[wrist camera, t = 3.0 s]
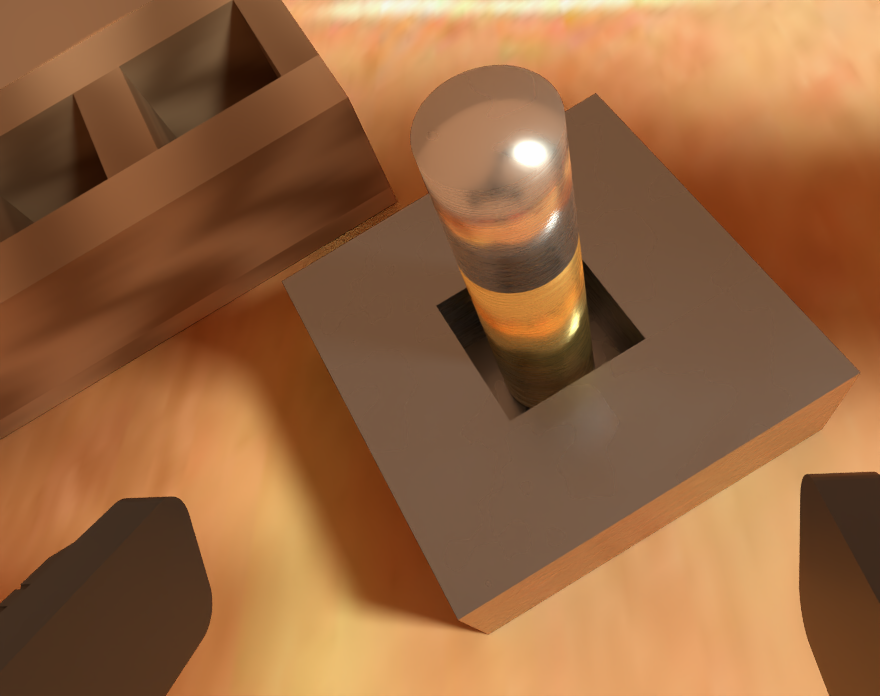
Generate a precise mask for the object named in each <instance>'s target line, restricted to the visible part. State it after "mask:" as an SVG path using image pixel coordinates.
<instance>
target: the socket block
mask: <svg viewBox="0 0 880 696" xmlns="http://www.w3.org/2000/svg"><path fill="white" fill-rule="evenodd" d="M565 119H566V128H567V136H568V145H569V153H570V162H571V170H572V179H573V187H574V196H575V204H576V213H577V221H578V230H579V238H580V247H581V255H582V264H583V272H584V281H585V289H586V298H587V306H588V315H589V323H590V332H591V340H592V349H593V357H594V371H592V372H590V373H589V374H587V375H585V376H584V377H582V378H580V379H579V380H577V381H575V382H574V383H572V384H571V385H569V386H567V387H566V388H564V389H562V390H561V391H559V392H557V393H556V394H554V395H552V396H551V397H549V398H548V399H546V400H544V401H543V402H541V403H539V404H538V405H536V406H534V407H533V408H529V407H526V406H525V405H523V404H521V403H520V402H518V401H517V400H516V399H515V398H514V397H513V396H512V395H511V393H510V392H509V390H508V388H507V386H506V384H505V381H504V379H503V376H502V374H501V371H500V369H499V366H498V364H497V361H496V359H495V356H494V354H493V352H492V349H491V347H490V344H489V342H488V339H487V337H486V334H485V332H484V329H483V327H482V324H481V322H480V319H479V317H478V314H477V312H476V309H475V307H474V304H473V302H472V299H471V297H470V294H469V292H468V289H467V287H466V284H465V282H464V279H463V277H462V274H461V272H460V269H459V267H458V265H457V262H456V260H455V257H454V255H453V252H452V250H451V247H450V245H449V242H448V240H447V237H446V235H445V232H444V230H443V227H442V225H441V222H440V220H439V217H438V215H437V212H436V210H435V207H434V205H433V202H432V200H431V197H430V195H429V193H428V194H427V195H425V196H423V197H422V198H420V199H418V200H417V201H415V202H413V203H412V204H410V205H408V206H407V207H405V208H403V209H402V210H400V211H398V212H397V213H395V214H393V215H392V216H390V217H388V218H387V219H385V220H383V221H382V222H380V223H378V224H377V225H375V226H373V227H372V228H370V229H368V230H367V231H365V232H363V233H362V234H360V235H358V236H357V237H355V238H353V239H352V240H350V241H348V242H347V243H345V244H343V245H342V246H340V247H338V248H337V249H335V250H333V251H332V252H330V253H328V254H327V255H325V256H323V257H322V258H320V259H318V260H317V261H315V262H313V263H312V264H310V265H308V266H307V267H305V268H303V269H302V270H300V271H298V272H297V273H295V274H293V275H292V276H290V277H288V278H287V279H285V280H283V281H282V283H283V285H284V287H285V289H286V290H287V292H288V294H289V296H290V298H291V300H292V302H293V304H294V306H295V308H296V310H297V312H298V313H299V315H300V317H301V319H302V321H303V323H304V325H305V327H306V329H307V331H308V333H309V335H310V337H311V338H312V340H313V342H314V344H315V346H316V348H317V350H318V352H319V354H320V356H321V358H322V360H323V361H324V363H325V365H326V367H327V369H328V371H329V373H330V375H331V377H332V379H333V381H334V383H335V385H336V386H337V388H338V390H339V392H340V394H341V396H342V398H343V400H344V402H345V404H346V406H347V408H348V410H349V411H350V413H351V415H352V417H353V419H354V421H355V423H356V425H357V427H358V429H359V431H360V433H361V434H362V436H363V438H364V440H365V442H366V444H367V446H368V448H369V450H370V452H371V454H372V456H373V458H374V459H375V461H376V463H377V465H378V467H379V469H380V471H381V473H382V475H383V477H384V479H385V481H386V482H387V484H388V486H389V488H390V490H391V492H392V494H393V496H394V498H395V500H396V502H397V504H398V506H399V507H400V509H401V511H402V513H403V515H404V517H405V519H406V521H407V523H408V525H409V527H410V529H411V531H412V532H413V534H414V536H415V538H416V540H417V542H418V544H419V546H420V548H421V550H422V552H423V554H424V555H425V557H426V559H427V561H428V563H429V565H430V567H431V569H432V571H433V573H434V575H435V577H436V579H437V580H438V582H439V584H440V586H441V588H442V590H443V592H444V594H445V596H446V598H447V600H448V602H449V603H450V605H451V607H452V609H453V611H454V613H455V615H456V617H457V619H458V620H459V621H461V622H463V623H465V624H467V625H469V626H472V627H474V628H476V629H478V630H480V631H482V632H484V633H486V634H490V633H492V632H493V631H495V630H496V629H498V628H500V627H501V626H503V625H505V624H506V623H508V622H509V621H511V620H513V619H514V618H516V617H518V616H519V615H521V614H522V613H524V612H526V611H527V610H529V609H531V608H532V607H534V606H535V605H537V604H539V603H540V602H542V601H544V600H545V599H547V598H548V597H550V596H552V595H553V594H555V593H557V592H558V591H560V590H561V589H563V588H565V587H566V586H568V585H570V584H571V583H573V582H574V581H576V580H578V579H579V578H581V577H583V576H584V575H586V574H587V573H589V572H591V571H592V570H594V569H595V568H597V567H599V566H600V565H602V564H604V563H605V562H607V561H608V560H610V559H612V558H613V557H615V556H617V555H618V554H620V553H621V552H623V551H625V550H626V549H628V548H630V547H631V546H633V545H634V544H636V543H638V542H639V541H641V540H643V539H644V538H646V537H647V536H649V535H651V534H652V533H654V532H656V531H657V530H659V529H660V528H662V527H664V526H665V525H667V524H669V523H670V522H672V521H673V520H675V519H677V518H678V517H680V516H682V515H683V514H685V513H686V512H688V511H690V510H691V509H693V508H695V507H696V506H698V505H699V504H701V503H703V502H704V501H706V500H707V499H709V498H711V497H712V496H714V495H716V494H717V493H719V492H720V491H722V490H724V489H725V488H727V487H729V486H730V485H732V484H733V483H735V482H737V481H738V480H740V479H742V478H743V477H745V476H746V475H748V474H750V473H751V472H753V471H755V470H756V469H758V468H759V467H761V466H763V465H764V464H766V463H768V462H769V461H771V460H772V459H774V458H776V457H777V456H779V455H781V454H782V453H784V452H785V451H787V450H789V449H790V448H792V447H794V446H795V445H797V444H798V443H800V442H802V441H803V440H805V439H807V438H808V437H810V436H811V435H813V434H815V433H816V432H818V431H819V430H821V429H822V428H823V427H824V425H825V424H826V423H827V421H828V420H829V418H830V417H831V415H832V414H833V412H834V411H835V409H836V408H837V406H838V405H839V404H840V402H841V401H842V399H843V398H844V396H845V395H846V393H847V392H848V390H849V389H850V387H851V386H852V384H853V383H854V382H855V380H856V379H857V377H858V376H859V374H860V372H859V370H858V369H857V368H856V367H855V366H854V365H853V364H852V363H851V362H850V361H849V360H848V359H847V358H846V357H845V356H844V355H843V354H842V353H841V351H840V350H839V349H838V348H837V347H836V346H835V345H834V344H833V343H832V342H831V341H830V340H829V339H828V338H827V337H826V336H825V335H824V334H823V332H822V331H821V330H820V329H819V328H818V327H817V326H816V325H815V324H814V323H813V322H812V321H811V320H810V319H809V318H808V317H807V316H806V314H805V313H804V312H803V311H802V310H801V309H800V308H799V307H798V306H797V305H796V304H795V303H794V302H793V301H792V300H791V299H790V298H789V297H788V295H787V294H786V293H785V292H784V291H783V290H782V289H781V288H780V287H779V286H778V285H777V284H776V283H775V282H774V281H773V280H772V279H771V278H770V276H769V275H768V274H767V273H766V272H765V271H764V270H763V269H762V268H761V267H760V266H759V265H758V264H757V263H756V262H755V261H754V260H753V259H752V257H751V256H750V255H749V254H748V253H747V252H746V251H745V250H744V249H743V248H742V247H741V246H740V245H739V244H738V243H737V242H736V241H735V240H734V238H733V237H732V236H731V235H730V234H729V233H728V232H727V231H726V230H725V229H724V228H723V227H722V226H721V225H720V224H719V223H718V222H717V221H716V219H715V218H714V217H713V216H712V215H711V214H710V213H709V212H708V211H707V210H706V209H705V208H704V207H703V206H702V205H701V204H700V203H699V202H698V200H697V199H696V198H695V197H694V196H693V195H692V194H691V193H690V192H689V191H688V190H687V189H686V188H685V187H684V186H683V185H682V184H681V183H680V181H679V180H678V179H677V178H676V177H675V176H674V175H673V174H672V173H671V172H670V171H669V170H668V169H667V168H666V167H665V166H664V165H663V164H662V162H661V161H660V160H659V159H658V158H657V157H656V156H655V155H654V154H653V153H652V152H651V151H650V150H649V149H648V148H647V147H646V146H645V145H644V143H643V142H642V141H641V140H640V139H639V138H638V137H637V136H636V135H635V134H634V133H633V132H632V131H631V130H630V129H629V128H628V127H627V126H626V124H625V123H624V122H623V121H622V120H621V119H620V118H619V117H618V116H617V115H616V114H615V113H614V112H613V111H612V110H611V109H610V108H609V107H608V105H607V104H606V103H605V102H604V101H603V100H602V99H601V98H600V97H599V96H598V95H597V94H596V93H595V94H594V95H592V96H590V97H589V98H587V99H585V100H584V101H582V102H580V103H579V104H577V105H575V106H574V107H572V108H570V109H569V110H567V111H565Z"/></svg>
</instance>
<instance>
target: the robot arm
mask: <svg viewBox="0 0 880 696" xmlns="http://www.w3.org/2000/svg"><path fill="white" fill-rule="evenodd" d="M799 592H800V603H801V611H802V617H803V622H804V627H805V631H806V635H807V638H808V641H809V644H810V647H811V649H812V652H813V655H814V657H815V660H816V662H817V665H818V668H819V670H820V673H821V675H822V678H823V681H824V683H825V686H826V688H827V691H828V694H829V696H880V475H879V474H878V473H877V472H855V473H828V474H806V475H805V476H804V477H803V479H802V483H801V493H800V563H799ZM211 613H212V593H211V588H210V584H209V581H208V577H207V574H206V571H205V567H204V564H203V560H202V557H201V554H200V550H199V547H198V543H197V540H196V536H195V533H194V530H193V526H192V523H191V519H190V516H189V513H188V510H187V508H186V506H185V504H184V503H183V502H182V501H181V500H180V499H179V498H177V497H148V498H126V499H122V500H120V501H118V502H117V503H115V504H114V505H113V506H112V507H111V508H110V509H109V510H108V511H107V512H106V513H105V514H104V515H103V516H102V517H101V518H99V519H98V520H97V521H96V522H95V523H94V524H93V525H92V526H91V527H90V528H89V529H88V530H87V531H86V532H85V533H84V534H83V535H82V536H81V537H80V538H78V539H77V540H76V541H75V542H74V543H72V544H71V545H69V546H67V547H66V548H64V549H63V550H61V551H59V552H58V553H56V554H54V555H53V556H51V557H50V558H48V559H47V560H46V561H45V562H44V563H43V564H42V565H41V566H40V567H39V568H38V569H37V570H35V571H34V572H33V573H32V574H31V575H30V576H29V577H28V578H27V579H26V580H25V581H24V582H23V583H22V584H21V588H20V590H14V591H13V592H12V593H11V594H10V595H9V596H8V597H7V598H6V599H5V600H3V601H2V602H1V603H0V696H166V694H167V693H168V691H169V690H170V688H171V687H172V685H173V684H174V682H175V681H176V679H177V678H178V676H179V674H180V673H181V671H182V670H183V668H184V667H185V665H186V664H187V662H188V661H189V659H190V658H191V656H192V655H193V653H194V652H195V650H196V649H197V647H198V645H199V644H200V642H201V641H202V639H203V638H204V636H205V634H206V632H207V629H208V626H209V623H210V619H211Z"/></svg>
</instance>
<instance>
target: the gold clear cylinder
mask: <svg viewBox="0 0 880 696" xmlns="http://www.w3.org/2000/svg"><path fill="white" fill-rule="evenodd" d="M410 143H411V149H412V152H413V155H414V158H415V160H416V163H417V165H418V168H419V170H420V173H421V175H422V178H423V180H424V183H425V185H426V187H427V190H428V192H429V195H430V197H431V200H432V202H433V205H434V207H435V210H436V212H437V215H438V217H439V220H440V222H441V225H442V227H443V230H444V232H445V235H446V237H447V240H448V242H449V245H450V247H451V250H452V252H453V255H454V257H455V260H456V262H457V265H458V267H459V269H460V272H461V274H462V277H463V279H464V282H465V284H466V287H467V289H468V292H469V294H470V297H471V299H472V302H473V304H474V307H475V309H476V312H477V314H478V317H479V319H480V322H481V324H482V327H483V329H484V332H485V334H486V337H487V339H488V342H489V344H490V347H491V349H492V352H493V354H494V356H495V359H496V361H497V364H498V366H499V369H500V371H501V374H502V376H503V379H504V381H505V384H506V386H507V388H508V390H509V392H510V393H511V395H512V396H513V397H514V398H515V399H516V400H517V401H518V402H520V403H521V404H523V405H525V406H526V407H529V408H533V407H534V406H536V405H538V404H539V403H541V402H543V401H544V400H546V399H548V398H549V397H551V396H552V395H554V394H556V393H557V392H559V391H561V390H562V389H564V388H566V387H567V386H569V385H571V384H572V383H574V382H575V381H577V380H579V379H580V378H582V377H584V376H585V375H587V374H589V373H590V372H592V371H594V357H593V349H592V340H591V332H590V323H589V315H588V306H587V298H586V289H585V281H584V272H583V264H582V255H581V247H580V238H579V230H578V221H577V213H576V204H575V196H574V187H573V179H572V170H571V162H570V153H569V145H568V136H567V128H566V119H565V111H564V106H563V102H562V99H561V97H560V95H559V94H558V92H557V90H556V89H555V88H554V86H553V85H552V84H551V83H550V82H549V81H547V80H546V79H545V78H543V77H542V76H541V75H539V74H537V73H535V72H533V71H530V70H528V69H525V68H521V67H516V66H509V65H492V66H484V67H479V68H475V69H472V70H468V71H466V72H463V73H461V74H458V75H456V76H454V77H452V78H451V79H449V80H447V81H446V82H444V83H443V84H441V85H440V86H439V87H438V88H436V89H435V90H434V91H433V92H432V93H431V94H430V95H429V96H428V97H427V98H426V99H425V101H424V102H423V103H422V104H421V106H420V108H419V109H418V111H417V113H416V115H415V118H414V120H413V123H412V127H411V134H410Z"/></svg>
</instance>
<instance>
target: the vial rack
mask: <svg viewBox="0 0 880 696" xmlns="http://www.w3.org/2000/svg"><path fill="white" fill-rule="evenodd" d="M396 202H397V200H396V198H395V196H394V193H393V191H392V189H391V187H390V185H389V183H388V181H387V179H386V177H385V174H384V172H383V170H382V168H381V166H380V164H379V162H378V160H377V157H376V155H375V153H374V151H373V149H372V147H371V145H370V143H369V140H368V138H367V136H366V134H365V132H364V130H363V128H362V126H361V124H360V121H359V119H358V117H357V115H356V113H355V111H354V109H353V107H352V104H351V102H350V100H349V98H348V96H347V95H346V93H345V92H344V91H343V89H342V88H341V86H340V85H339V83H338V82H337V80H336V79H335V77H334V76H333V75H332V73H331V72H330V70H329V69H328V67H327V66H326V64H325V63H324V61H323V60H322V59H321V57H320V56H319V54H318V53H317V51H316V50H315V48H314V47H313V45H312V44H311V43H310V41H309V40H308V38H307V37H306V35H305V34H304V32H303V31H302V29H301V28H300V27H299V25H298V24H297V22H296V21H295V19H294V18H293V16H292V15H291V13H290V12H289V11H288V9H287V8H286V6H285V5H284V3H283V2H282V0H152V1H150V2H148V3H147V4H145V5H143V6H142V7H140V8H138V9H137V10H135V11H133V12H131V13H130V14H128V15H126V16H125V17H123V18H121V19H119V20H118V21H116V22H114V23H113V24H111V25H109V26H107V27H106V28H104V29H102V30H101V31H99V32H97V33H96V34H94V35H92V36H90V37H89V38H87V39H85V40H84V41H82V42H80V43H78V44H77V45H75V46H73V47H72V48H70V49H68V50H67V51H65V52H63V53H61V54H60V55H58V56H56V57H55V58H53V59H51V60H49V61H48V62H46V63H44V64H43V65H41V66H39V67H38V68H36V69H34V70H32V71H31V72H29V73H27V74H26V75H24V76H22V77H20V78H19V79H17V80H15V81H14V82H12V83H10V84H9V85H7V86H5V87H3V88H2V89H0V439H2V438H3V437H5V436H7V435H8V434H10V433H12V432H13V431H15V430H17V429H18V428H20V427H22V426H23V425H25V424H27V423H28V422H30V421H32V420H33V419H35V418H37V417H38V416H40V415H42V414H43V413H45V412H47V411H48V410H50V409H52V408H53V407H55V406H57V405H58V404H60V403H62V402H64V401H65V400H67V399H69V398H70V397H72V396H74V395H75V394H77V393H79V392H80V391H82V390H84V389H85V388H87V387H89V386H90V385H92V384H94V383H95V382H97V381H99V380H100V379H102V378H104V377H105V376H107V375H109V374H110V373H112V372H114V371H115V370H117V369H119V368H120V367H122V366H124V365H125V364H127V363H129V362H130V361H132V360H134V359H135V358H137V357H139V356H140V355H142V354H144V353H145V352H147V351H149V350H150V349H152V348H154V347H155V346H157V345H159V344H160V343H162V342H164V341H165V340H167V339H169V338H170V337H172V336H174V335H175V334H177V333H179V332H180V331H182V330H184V329H185V328H187V327H189V326H190V325H192V324H194V323H195V322H197V321H199V320H201V319H202V318H204V317H206V316H207V315H209V314H211V313H212V312H214V311H216V310H217V309H219V308H221V307H222V306H224V305H226V304H227V303H229V302H231V301H232V300H234V299H236V298H237V297H239V296H241V295H242V294H244V293H246V292H247V291H249V290H251V289H252V288H254V287H256V286H257V285H259V284H261V283H262V282H264V281H266V280H267V279H269V278H271V277H272V276H274V275H276V274H277V273H279V272H281V271H282V270H284V269H286V268H287V267H289V266H291V265H292V264H294V263H296V262H297V261H299V260H301V259H302V258H304V257H306V256H307V255H309V254H311V253H312V252H314V251H316V250H317V249H319V248H321V247H322V246H324V245H326V244H327V243H329V242H331V241H332V240H334V239H336V238H338V237H339V236H341V235H343V234H344V233H346V232H348V231H349V230H351V229H353V228H354V227H356V226H358V225H359V224H361V223H363V222H364V221H366V220H368V219H369V218H371V217H373V216H374V215H376V214H378V213H379V212H381V211H383V210H384V209H386V208H388V207H389V206H391V205H393V204H394V203H396Z"/></svg>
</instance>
